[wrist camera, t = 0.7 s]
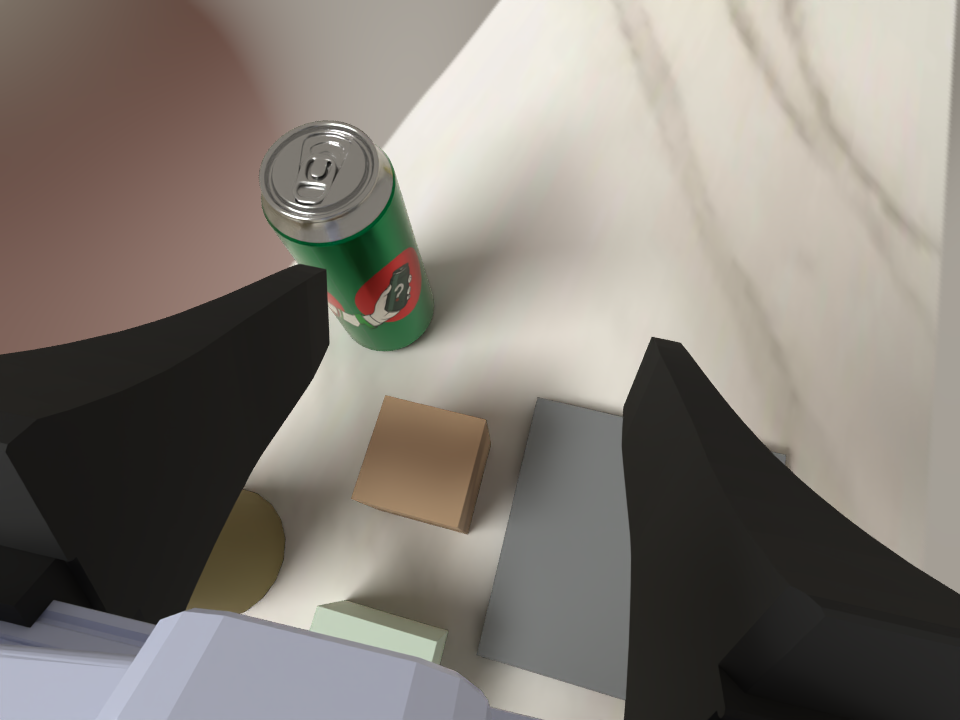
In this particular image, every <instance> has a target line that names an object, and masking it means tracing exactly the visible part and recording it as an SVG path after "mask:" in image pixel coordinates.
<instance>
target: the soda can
mask: <svg viewBox="0 0 960 720" xmlns="http://www.w3.org/2000/svg"><path fill="white" fill-rule="evenodd" d="M259 182H260V188H261V192H262V194H261V202H262V209H263V212H264V215H265V217H266V219H267V221H268V222H269V224H270V226H271V227H272V228H273V230H274V231H275V233H276V234H277V235H278V237H279V238H280V240H281V241H282V242H283V244H284V245H285V246H286V248H287V249H288V251H289V252H290V253H291V255H292V256H293V258H294V259H295V260H296V262H297V263H298V264H304V265H309V266H314V267H318V268H323V269H327V293H328V306H329V308H330V309H331V310H332V312H333V313H334V314H335V316H336V317H337V319H338V320H339V321H340V323H341V324H342V326H343V327H344V328H345V330H346V331H347V332H348V334H349V335H350V336H351V338H352V339H353V340H355V341H356V342H357V343H358V344H360V345H362V346H363V347H366V348H368V349H371V350H376V351H393V350H397V349H401V348H403V347H406V346H408V345H409V344H411V343H413V342H414V341H416V340H417V339H418V338H419V337H420V336H421V335H422V334H423V333H424V332H425V330H426V329H427V327H428V326H429V324H430V322H431V319H432V316H433V311H434V300H433V295H432V292H431V289H430V285H429V282H428V279H427V276H426V272H425V269H424V266H423V262H422V259H421V256H420V253H419V249H418V246H417V243H416V240H415V236H414V233H413V230H412V227H411V223H410V220H409V217H408V213H407V210H406V207H405V204H404V200H403V197H402V194H401V191H400V187H399V184H398V181H397V178H396V174H395V171H394V168H393V166H392V163H391V161H390V159H389V158H388V156H387V155H386V154H385V152H384V151H383V150H382V149H381V148H379V147H378V146H377V145H375V144H374V143H373V142H372V140H371V139H370V138H369V137H368V136H367V135H366V134H365V133H364V132H363V131H361V130H360V129H358V128H356V127H355V126H352V125H350V124H347V123H344V122H339V121H317V122H312V123H307V124H304V125H302V126H299V127H296V128H294V129H292V130H290V131H289V132H287V133H286V134H285V135H283V136H281V137H280V138H279V139H278V140H277V141H276V142H275V143H274V144H273V145H272V146H271V147H270V149H269V150H268V152H267V153H266V155H265V157H264V159H263V161H262V163H261V167H260V171H259Z"/></svg>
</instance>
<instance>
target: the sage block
mask: <svg viewBox="0 0 960 720" xmlns="http://www.w3.org/2000/svg"><path fill="white" fill-rule="evenodd" d="M309 631H312V632H316V633H321V634H325V635H329V636H333V637H337V638H341V639H345V640H350V641H354V642H358V643H362V644H366V645H370V646H374V647H378V648H383V649H387V650H391V651H395V652H399V653H403V654H407V655H412V656H416V657H419V658H422V659H425V660H427V661H430V662H433V663H435V664H438V665H440V662H441V658H442V654H443V650H444V646H445V642H446V638H447V634H448V631H447V630H444V629H440V628H437V627H434V626H430V625H427V624H423V623H420V622H417V621H413V620H410V619H407V618H403V617H400V616H397V615H393V614H390V613H387V612H383V611H380V610H376V609H373V608H370V607H366V606H363V605H360V604H356V603H353V602H350V601H346V600H344V601H339V602H334V603H329V604H324V605H319V606H317V609H316V612H315V615H314V618H313V621H312V624H311V627H310V630H309Z"/></svg>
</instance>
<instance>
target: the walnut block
mask: <svg viewBox="0 0 960 720" xmlns="http://www.w3.org/2000/svg"><path fill="white" fill-rule="evenodd" d="M490 446H491V441H490V436H489V432H488V427H487V422H486V420H485V419H481V418H477V417H473V416H469V415H464V414H460V413H456V412H452V411H448V410H444V409H440V408H436V407H431V406H427V405H423V404H419V403H415V402H411V401H407V400H403V399H398V398H394V397H390V396H386V395H385V398H384V401H383V404H382V407H381V410H380V413H379V416H378V419H377V422H376V425H375V428H374V431H373V434H372V437H371V440H370V443H369V446H368V449H367V452H366V455H365V458H364V461H363V464H362V467H361V470H360V473H359V476H358V479H357V482H356V485H355V488H354V491H353V494H352V497H351V499H353V500H355V501H358V502H360V503H363V504H365V505H368V506H370V507H373V508H375V509H378V510H381V511H384V512H388V513H392V514H395V515H399V516H402V517H406V518H410V519H413V520H417V521H421V522H424V523H428V524H432V525H435V526H439V527H443V528H446V529H450V530H453V531H457V532H461V533H464V534H468V531H469V527H470V523H471V519H472V516H473V512H474V508H475V504H476V500H477V496H478V492H479V488H480V485H481V481H482V477H483V473H484V469H485V465H486V461H487V457H488V454H489V450H490Z"/></svg>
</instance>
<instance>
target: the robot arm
mask: <svg viewBox="0 0 960 720" xmlns="http://www.w3.org/2000/svg"><path fill="white" fill-rule="evenodd" d="M328 346H329V319H328V293H327V269H323V268H318V267H314V266H309V265H304V264H298V265H295V266H292V267H289V268H287V269H284V270H282V271H279V272H277V273H275V274H273V275H270V276H268V277H266V278H263V279H261V280H259V281H257V282H254V283H252V284H250V285H248V286H245V287H243V288H241V289H239V290H236V291H234V292H232V293H229V294H227V295H225V296H222V297H220V298H217V299H215V300H212V301H209V302H207V303H204V304H202V305H199V306H197V307H194V308H191V309H189V310H187V311H184V312H181V313H178V314H176V315H173V316H170V317H167V318H164V319H161V320H158V321H155V322H151V323H148V324H144V325H141V326H138V327H135V328H131V329H127V330H124V331H120V332H116V333H112V334H107V335H103V336H98V337H94V338H90V339H86V340H81V341H76V342H72V343H68V344H63V345H57V346H52V347H46V348H40V349H35V350H29V351H23V352H15V353H9V354H2V355H0V720H542V719H538V718H534V717H530V716H526V715H522V714H517V713H513V712H509V711H505V710H501V709H497V708H493V707H490V706H489V702H488V699H487V698H486V696H485V695H484V694H483V692H482V691H481V690H480V689H479V688H477V687H476V686H475V685H474V684H472V683H471V682H470V681H468V680H467V679H466V678H464V677H463V676H462V675H461V674H459V673H458V672H457V671H454V670H451V669H449V668H446V667H443V666H441V665H438V664H435V663H433V662H430V661H427V660H425V659H422V658H419V657H416V656H412V655H407V654H403V653H399V652H395V651H391V650H387V649H383V648H378V647H374V646H370V645H366V644H362V643H358V642H354V641H350V640H345V639H341V638H337V637H333V636H329V635H325V634H321V633H316V632H312V631H308V630H304V629H300V628H296V627H292V626H287V625H283V624H279V623H275V622H271V621H267V620H263V619H259V618H254V617H250V616H246V615H242V614H238V613H234V612H229V611H219V610H210V609H200V608H192V609H189V610H186V608H187V605H188V603H189V601H190V598H191V596H192V594H193V591H194V589H195V587H196V585H197V582H198V580H199V578H200V576H201V574H202V572H203V569H204V567H205V565H206V563H207V561H208V558H209V556H210V554H211V552H212V550H213V547H214V545H215V543H216V541H217V539H218V537H219V535H220V533H221V531H222V529H223V527H224V525H225V523H226V521H227V519H228V517H229V515H230V513H231V511H232V509H233V507H234V505H235V503H236V501H237V499H238V497H239V495H240V493H241V491H242V489H243V487H244V485H245V484H246V482H247V480H248V478H249V476H250V474H251V472H252V470H253V468H254V467H255V465H256V464H257V462H258V460H259V459H260V457H261V455H262V454H263V452H264V451H265V449H266V448H267V446H268V445H269V443H270V442H271V440H272V439H273V437H274V436H275V435H276V433H277V432H278V430H279V429H280V427H281V426H282V424H283V423H284V421H285V420H286V418H287V417H288V415H289V414H290V413H291V411H292V410H293V408H294V407H295V405H296V404H297V402H298V401H299V399H300V398H301V396H302V395H303V393H304V392H305V390H306V389H307V387H308V386H309V384H310V383H311V381H312V379H313V378H314V376H315V374H316V372H317V370H318V368H319V366H320V364H321V361H322V359H323V357H324V355H325V353H326V350H327V348H328ZM622 458H623V469H624V480H625V490H626V500H627V510H628V520H629V530H630V546H631V586H630V621H629V648H628V666H627V684H626V701H625V714H624V720H960V594H958V593H957V592H955V591H954V590H952V589H950V588H948V587H947V586H945V585H944V584H942V583H941V582H939V581H937V580H936V579H934V578H933V577H931V576H929V575H928V574H926V573H925V572H923V571H921V570H920V569H918V568H917V567H915V566H913V565H912V564H910V563H909V562H907V561H906V560H904V559H903V558H902V557H900V556H899V555H897V554H896V553H894V552H893V551H892V550H890V549H889V548H887V547H886V546H884V545H883V544H881V543H880V542H879V541H877V540H876V539H874V538H873V537H871V536H870V535H869V534H867V533H866V532H865V531H863V530H862V529H861V528H859V527H858V526H857V525H855V524H854V523H853V522H851V521H850V520H849V519H847V518H846V517H845V516H844V515H842V514H841V513H840V512H839V511H837V510H836V509H835V508H834V507H832V506H831V505H830V504H829V503H827V502H826V501H825V500H824V499H823V498H821V497H820V496H819V495H818V494H816V493H815V492H814V491H813V490H812V489H811V488H809V487H808V486H807V485H806V484H805V483H804V482H803V481H801V480H800V479H799V478H798V477H797V476H796V475H795V474H794V473H793V472H792V471H791V470H790V469H789V468H787V467H786V466H785V465H784V464H783V463H782V462H781V461H780V460H779V459H778V458H777V457H776V456H775V455H774V454H773V453H772V452H771V451H770V450H769V449H768V448H767V447H766V446H765V445H764V444H763V443H762V442H761V441H760V440H759V439H758V438H757V436H756V435H755V434H754V433H753V432H752V431H751V430H750V429H749V428H748V426H747V425H746V424H745V423H744V422H743V421H742V420H741V419H740V417H739V416H738V415H737V414H736V413H735V412H734V410H733V409H732V408H731V407H730V406H729V404H728V403H727V402H726V401H725V399H724V398H723V397H722V396H721V394H720V393H719V392H718V391H717V389H716V388H715V387H714V385H713V384H712V383H711V382H710V380H709V379H708V378H707V376H706V375H705V374H704V372H703V371H702V370H701V368H700V367H699V366H698V364H697V363H696V362H695V360H694V359H693V358H692V356H691V355H690V354H689V353H688V351H687V350H686V349H685V348H684V346H683V345H682V344H681V343H679V342H675V341H670V340H665V339H660V338H655V337H652V338H651V340H650V343H649V345H648V347H647V350H646V352H645V355H644V357H643V360H642V362H641V365H640V367H639V370H638V372H637V375H636V377H635V380H634V382H633V385H632V387H631V390H630V392H629V394H628V397H627V399H626V402H625V404H624V407H623V423H622ZM185 610H186V611H185Z"/></svg>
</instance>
